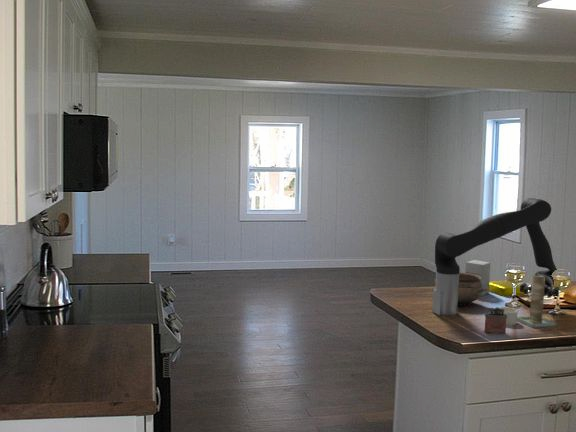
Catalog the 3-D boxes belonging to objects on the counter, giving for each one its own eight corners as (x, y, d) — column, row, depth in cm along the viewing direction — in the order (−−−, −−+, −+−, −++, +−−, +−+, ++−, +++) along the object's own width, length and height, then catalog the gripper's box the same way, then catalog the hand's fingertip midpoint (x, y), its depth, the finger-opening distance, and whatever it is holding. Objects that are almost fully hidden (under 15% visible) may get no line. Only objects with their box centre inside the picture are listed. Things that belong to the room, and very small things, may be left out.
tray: (532, 329, 246) (533, 324, 246) (514, 321, 256) (515, 316, 256) (556, 327, 249) (557, 323, 249) (538, 320, 259) (538, 315, 259)
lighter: (503, 333, 240) (505, 306, 239) (507, 335, 237) (509, 309, 235) (482, 332, 240) (484, 306, 239) (485, 335, 236) (487, 308, 235)
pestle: (534, 323, 250) (537, 277, 248) (526, 320, 254) (530, 275, 253) (544, 323, 251) (547, 277, 250) (536, 320, 256) (540, 275, 254)
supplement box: (471, 290, 310) (473, 259, 309) (489, 293, 305) (491, 262, 303) (463, 293, 303) (465, 261, 302) (481, 296, 298) (483, 264, 296)
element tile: (483, 290, 312) (484, 280, 312) (508, 288, 318) (509, 278, 317) (504, 297, 298) (505, 287, 298) (530, 295, 304) (531, 285, 303)
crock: (502, 326, 248) (503, 312, 248) (490, 321, 256) (491, 307, 255) (520, 325, 251) (521, 311, 250) (507, 319, 258) (508, 306, 258)
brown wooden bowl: (423, 301, 285) (424, 274, 283) (443, 294, 299) (445, 269, 297) (476, 312, 268) (477, 284, 267) (495, 305, 282) (497, 277, 281)
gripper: (524, 274, 267) (518, 281, 252) (562, 278, 260) (557, 286, 246) (523, 292, 267) (517, 300, 253) (560, 296, 261) (556, 305, 247)
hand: (537, 293), depth 249 cm, fingers open, 8 cm apart
